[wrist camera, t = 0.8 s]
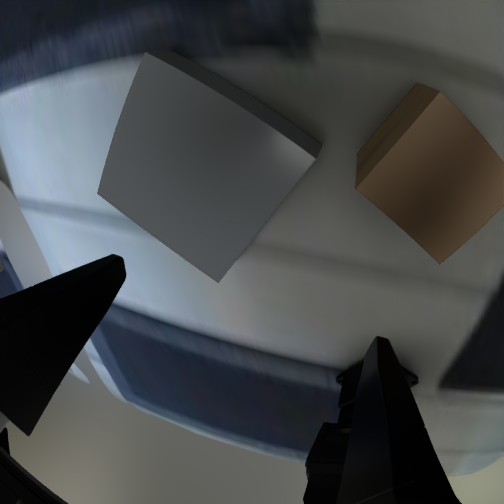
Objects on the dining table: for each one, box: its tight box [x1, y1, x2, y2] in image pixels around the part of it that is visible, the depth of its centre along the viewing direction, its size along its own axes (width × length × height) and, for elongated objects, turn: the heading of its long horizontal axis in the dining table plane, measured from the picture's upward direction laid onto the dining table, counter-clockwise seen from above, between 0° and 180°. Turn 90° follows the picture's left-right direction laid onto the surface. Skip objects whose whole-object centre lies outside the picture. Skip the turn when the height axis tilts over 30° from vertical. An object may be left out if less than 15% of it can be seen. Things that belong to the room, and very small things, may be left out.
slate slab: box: [97, 50, 322, 283], centre depth 21 cm, size 12×12×3 cm
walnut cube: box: [355, 83, 504, 264], centre depth 14 cm, size 6×6×6 cm
